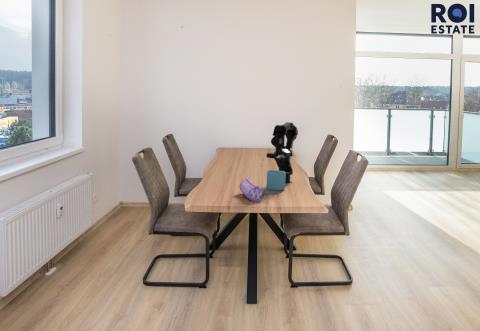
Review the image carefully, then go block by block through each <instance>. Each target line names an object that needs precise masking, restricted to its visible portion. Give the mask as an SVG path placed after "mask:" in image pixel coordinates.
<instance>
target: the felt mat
mask: <svg viewBox="0 0 480 331" xmlns="http://www.w3.org/2000/svg"><path fill="white" fill-rule="evenodd" d="M259 188H260V189H261V190H262V191H263V193H264V196H265V195H266V196H271V195H275V194H276V195H277V194H281V193H282V192H281V191H280V190H269V189H267V187H259Z"/></svg>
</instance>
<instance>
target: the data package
mask: <svg viewBox="0 0 480 331" xmlns="http://www.w3.org/2000/svg"><path fill="white" fill-rule="evenodd" d="M285 180H286V173H285V171H279V170H271V169H270V170H268V171H267V173H266V187H265V188H267V189H269V190H275V191H285V189H286V183H285Z"/></svg>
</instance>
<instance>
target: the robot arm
mask: <svg viewBox="0 0 480 331" xmlns="http://www.w3.org/2000/svg"><path fill="white" fill-rule="evenodd" d="M298 135H299V131H298V128H297V126H295V125H294V123H293V122H288V121H287V122H285V123H283V124H276V125H275V126H274V129H273V132H272V136H273V137H272V138H271V140H270V143H271V145H272V146H273V147H274V148H275V151H274V152H267V153H266V158H267V159H274V161H275V164H276V166H277V168H278V171H285V173H286V180H285V184H291V183H292V181H291V176H292V175H294V174H293V173H294V171H293V167H292V163H291V158H292V157H293V145H294V141H296V139H297V136H298ZM285 138H286V142H285Z"/></svg>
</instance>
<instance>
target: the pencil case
mask: <svg viewBox="0 0 480 331" xmlns="http://www.w3.org/2000/svg"><path fill="white" fill-rule="evenodd" d="M238 187H239V190H240V192H241V193H242V194H243V195H244V196H245V197H246V198H248V199H249V200H250V201H252V202H259V201H261V200H262V198H263V197H265V194H264V193H263V191H262V190H261V189H260V188H261V187H260V186H258V185H255V184H254V183H253V182H252V181H251V180H250V179H249V178H247V177H246V178H244V179H242V180H241V181H240V184H239V186H238Z"/></svg>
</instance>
